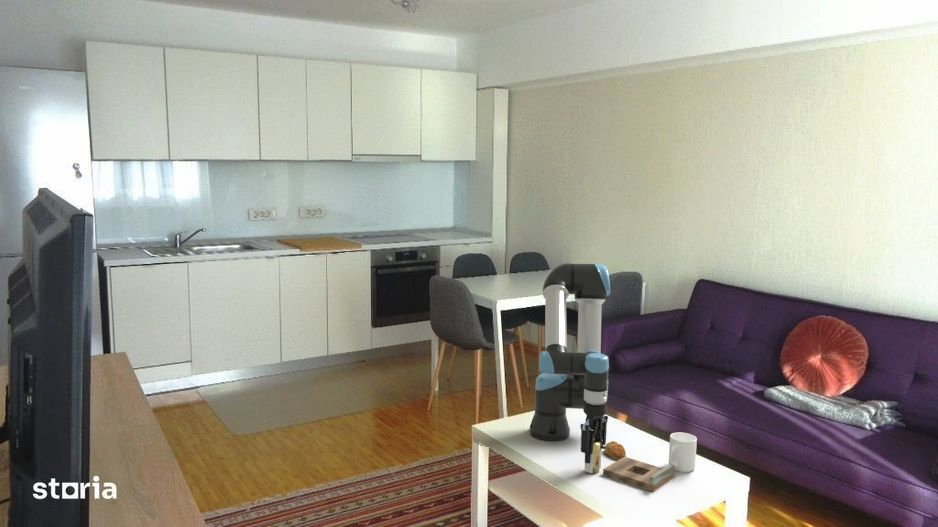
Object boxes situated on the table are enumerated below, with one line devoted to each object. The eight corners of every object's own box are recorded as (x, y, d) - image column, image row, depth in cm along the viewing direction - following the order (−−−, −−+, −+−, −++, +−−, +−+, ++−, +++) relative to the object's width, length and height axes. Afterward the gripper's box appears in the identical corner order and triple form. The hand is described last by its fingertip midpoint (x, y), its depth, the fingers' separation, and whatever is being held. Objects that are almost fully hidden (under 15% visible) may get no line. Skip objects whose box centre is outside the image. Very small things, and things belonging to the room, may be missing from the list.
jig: (602, 474, 233) (603, 461, 233) (624, 462, 244) (625, 449, 243) (653, 491, 222) (654, 478, 221) (673, 477, 232) (674, 464, 231)
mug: (657, 469, 239) (659, 438, 237) (677, 460, 246) (679, 430, 245) (679, 477, 232) (681, 446, 231) (700, 468, 240) (701, 437, 239)
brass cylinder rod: (583, 471, 236) (584, 442, 235) (590, 467, 239) (591, 438, 238) (594, 475, 233) (595, 445, 232) (601, 471, 236) (602, 442, 235)
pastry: (630, 460, 246) (631, 450, 245) (612, 462, 245) (612, 451, 244) (619, 450, 255) (620, 439, 254) (602, 451, 254) (602, 441, 253)
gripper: (591, 410, 224) (588, 481, 227) (618, 397, 237) (615, 464, 240) (570, 404, 229) (568, 474, 232) (599, 392, 242) (596, 458, 245)
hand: (592, 469), depth 236 cm, fingers closed on brass cylinder rod, 4 cm apart
